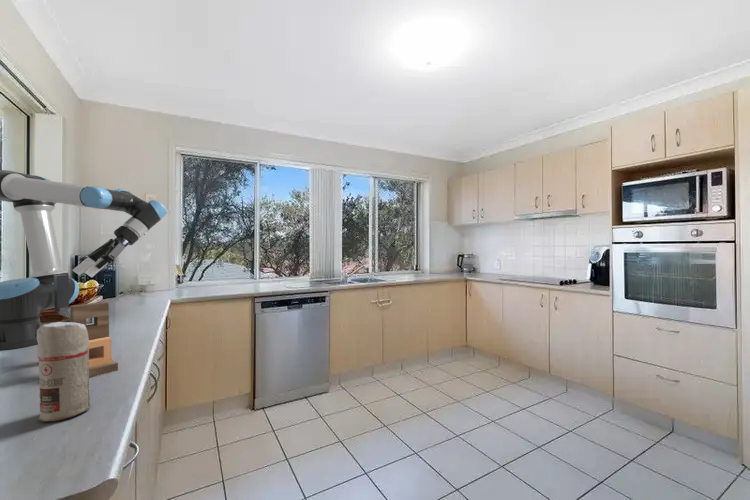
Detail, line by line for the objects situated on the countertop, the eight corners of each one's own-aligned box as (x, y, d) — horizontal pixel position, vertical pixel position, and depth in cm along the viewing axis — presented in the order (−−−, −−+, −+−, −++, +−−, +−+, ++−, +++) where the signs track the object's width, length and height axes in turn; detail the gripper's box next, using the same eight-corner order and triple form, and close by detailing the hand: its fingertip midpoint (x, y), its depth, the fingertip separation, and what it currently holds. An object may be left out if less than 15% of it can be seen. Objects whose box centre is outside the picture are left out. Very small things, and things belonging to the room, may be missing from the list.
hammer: (54, 313, 113) (54, 275, 113) (66, 311, 115) (65, 274, 115) (81, 324, 97) (80, 280, 97) (94, 322, 100) (93, 279, 100)
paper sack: (31, 417, 70) (29, 323, 70) (79, 401, 78) (78, 316, 77) (48, 428, 66) (46, 328, 66) (97, 409, 74) (96, 320, 73)
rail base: (51, 357, 107) (50, 298, 106) (83, 351, 113) (82, 295, 113) (82, 379, 90) (81, 309, 90) (117, 370, 97) (116, 305, 96)
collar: (77, 367, 93) (77, 342, 93) (108, 360, 99) (108, 336, 99) (80, 369, 92) (80, 344, 92) (111, 361, 98) (111, 338, 98)
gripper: (152, 238, 124) (103, 283, 112) (126, 239, 138) (80, 278, 126) (135, 223, 119) (82, 268, 107) (110, 225, 134) (61, 265, 122)
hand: (81, 273), depth 117 cm, fingers open, 13 cm apart
